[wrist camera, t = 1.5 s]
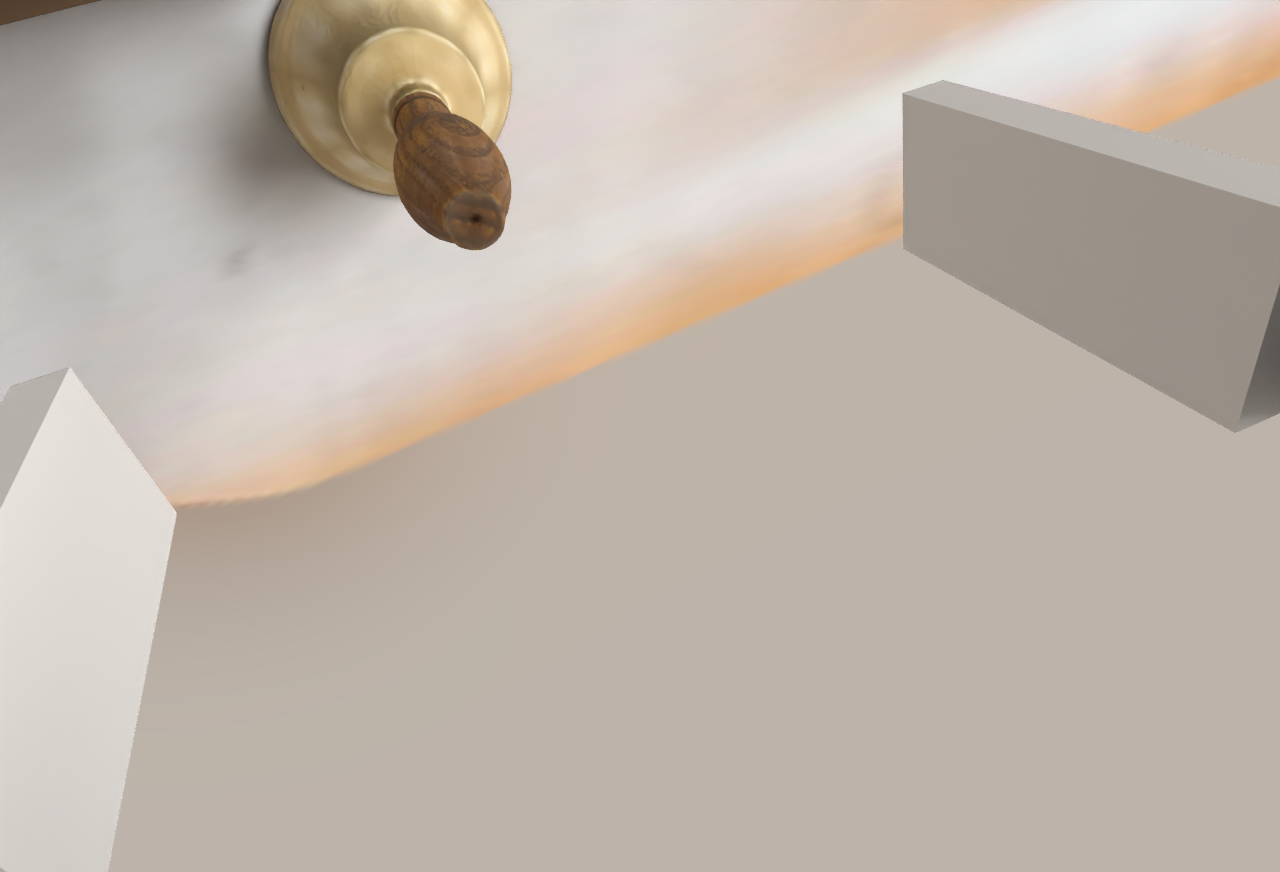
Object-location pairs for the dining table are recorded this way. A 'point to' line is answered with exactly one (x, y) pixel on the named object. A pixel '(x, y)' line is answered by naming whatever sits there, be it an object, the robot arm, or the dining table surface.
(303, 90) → the hand bell
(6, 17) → the bottom block
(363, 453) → the dining table surface
